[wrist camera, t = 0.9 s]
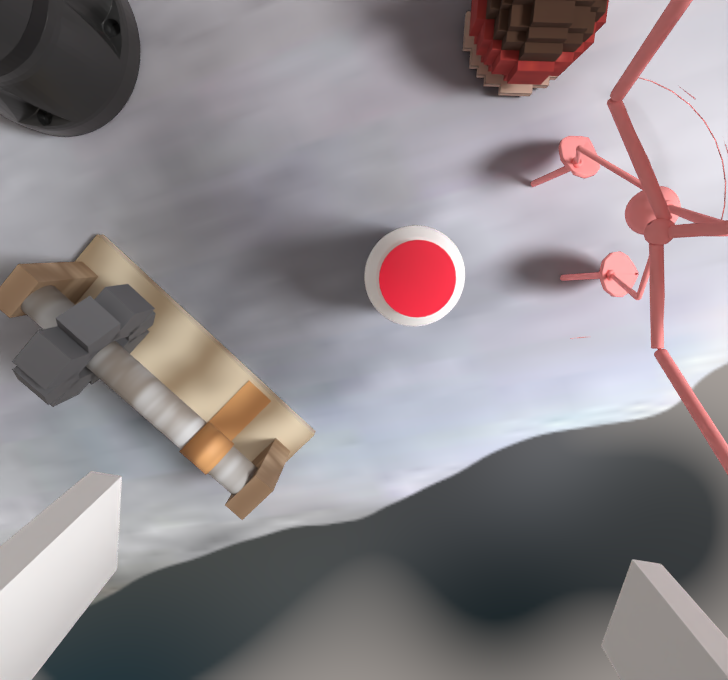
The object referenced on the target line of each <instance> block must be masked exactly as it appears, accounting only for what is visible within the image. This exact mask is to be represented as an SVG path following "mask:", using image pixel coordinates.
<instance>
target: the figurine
mask: <svg viewBox="0 0 728 680" xmlns="http://www.w3.org/2000/svg"><path fill="white" fill-rule="evenodd" d="M691 2H692V0H671V1H670V3H669V4H668V6H667V7H666V9H665V10H664V12H663V13H662V15H661V16H660V18H659V20H658V21H657V23H656V24H655V26H654V27H653V29H652V30H651V32H650V33H649V35H648V36H647V38H646V40H645V41H644V43H643V44H642V46H641V47H640V49H639V50H638V52H637V53H636V55H635V56H634V58H633V60H632V61H631V63H630V64H629V66H628V67H627V69H626V70H625V72H624V73H623V75H622V76H621V78H620V79H619V81H618V83H617V84H616V86H615V87H614V89H613V90H612V92H611V95H610V97H611V99H609V100H608V101H607V105H608V107H609V109H610V112H611V114H612V116H613V119H614V121H615V123H616V126H617V128H618V131H619V133H620V135H621V138H622V140H623V142H624V145H625V147H626V150H627V152H628V154H629V157H630V159H631V161H632V164H633V166H634V168H635V171H636V173H637V175H638V178H639V179H637V178H635V177H634V176H632V175H630V174H629V173H627V172H625V171H623V170H622V169H620V168H618V167H616V166H615V165H613V164H611V163H610V162H608V161H606V160H605V159H603V158H601V157H599V156H598V155H597V153H596V151H595V149H594V147H593V145H592V143H591V141H590V139H589V138H588V137H582V136H568V137H566V138H564V139H562V140H561V142H560V144H559V147H558V148H559V154H560V160H561V161H562V163H563V164H564V167H562V168H559V169H557V170H555V171H553V172H551V173H549V174H546V175H544V176H542V177H540V178H538V179H535V180H533V181H532V182H531V186H532V187H535V186H537V185H539V184H542V183H544V182H546V181H549V180H551V179H553V178H556V177H558V176H560V175H563V174H565V173H567V172H570V171H571V172H572V173H573V175H575V176H578V177H581V178H584V179H585V178H588V177H591V176H594V175H595V174H596V173H597V171H598V170H599V168H600V164H601V165H602V166H604V167H606V168H607V169H609V170H611V171H612V172H614V173H616V174H617V175H619V176H621V177H622V178H624V179H626V180H627V181H629V182H630V183H632V184H634V185H635V186H637V187H639V188H640V189H642V190H643V191H641V192H639V193H637V194H636V195H635V196H634V197H632V199H631V200H630V201H629V202H628V204H627V206H626V210H625V219H626V222H627V224H628V226H629V227H630V228H631V229H632V230H633V231H635V232H636V233H639V234H642V235H644V237H645V240H646V241H647V242H648V243H649V258H648V261H647V264H646V267H645V270H644V273H643V276H642V279H641V282H640V285H639V289H638V292H635V291H634V290H633V289H632V287H633V285H634V283H635V282H636V279H637V277H638V275H639V274H638V271H637V269H636V267H635V266H634V264H633V263H632V261H631V260H630V258H629V257H628V256H627V255H626V254H624V253H622V252H614V253H609V254H608V255H607V256H606V257H605V258H604V259H603V260H602V263H601V267H600V270H599V272H593V273H581V274H568V275H561V277H560V279H561V280H562V281H567V280H584V279H600V281H601V284H602V287H603V289H604V290H605V291H606V292H607V293H608V294H610V295H611V296H613V297H623V296H624V295H626V294H627V293H629V294H630V295H631V296H632V297H633V298H634V299H636V300H640V299H641V298H642V295H643V292H644V289H645V286H646V283H647V281H648V278H649V275H650V320H651V348H658V350H657V351H656V352H655V353H654V356H655V357H656V359H657V361H658V362H659V364H660V365H661V367H662V369H663V370H664V372H665V374H666V375H667V377H668V378H669V380H670V382H671V383H672V385H673V387H674V388H675V390H676V391H677V393H678V395H679V396H680V398H681V400H682V401H683V403H684V404H685V406H686V408H687V409H688V411H689V413H690V414H691V416H692V417H693V419H694V421H695V422H696V424H697V426H698V427H699V429H700V430H701V432H702V434H703V435H704V437H705V439H706V440H707V442H708V443H709V445H710V447H711V448H712V450H713V452H714V453H715V455H716V456H717V458H718V460H719V461H720V463H721V465H722V466H723V468H724V469H725V471H726V473H727V474H728V445H727V443H726V442H725V440H724V439H723V437H722V436H721V434H720V432H719V431H718V430H717V428H716V426H715V425H714V423H713V422H712V420H711V419H710V417H709V416H708V414H707V412H706V411H705V409H704V408H703V406H702V405H701V403H700V402H699V400H698V399H697V397H696V395H695V394H694V392H693V391H692V389H691V387H690V386H689V384H688V383H687V381H686V380H685V378H684V376H683V375H682V373H681V372H680V370H679V369H678V367H677V365H676V364H675V362H674V361H673V359H672V358H671V356H670V355H669V353H668V351H667V350H666V349H661V348H664V331H663V318H664V298H665V293H664V244H667V243H668V242H669V241H671V240H672V239H673V238H680V237H696V236H728V220H726V221H724V220H722V218H721V220H720V219H717V218H714V217H710V216H707V215H704V214H700V213H697V212H694V211H691V210H687V209H684V208H681V205H680V201H679V198H678V196H677V195H676V193H675V192H674V191H673V190H671V189H669V188H667V187H663V186H659V184H658V181H657V179H656V176H655V174H654V172H653V169H652V167H651V164H650V162H649V159H648V157H647V155H646V153H645V151H644V149H643V147H642V145H641V143H640V141H639V139H638V136H637V134H636V132H635V130H634V128H633V125H632V123H631V121H630V118H629V116H628V113H627V111H626V108H625V106H624V103H623V101H622V100H623V98H624V97H625V96H626V94H627V93H628V91H629V90H630V89H631V87H632V86H633V84H634V83H635V81H636V80H637V79H638V78H639V76H640V74H641V73H642V71H643V70H644V69H645V67H646V66H647V64H648V63H649V62H650V60H651V59H652V57H653V56H654V54H655V53H656V52H657V50H658V49H659V47H660V46H661V44H662V43H663V42H664V40H665V39H666V37H667V36H668V35H669V33H670V32H671V30H672V29H673V27H674V26H675V25H676V23H677V22H678V20H679V19H680V17H681V16H682V15H683V13H684V12H685V10H686V9H687V8H688V6H689V5H690V3H691ZM640 79H643V78H640ZM644 80H646V79H644ZM647 81H650V80H647ZM651 82H653V81H651ZM653 83H655V82H653ZM655 84H657V83H655ZM657 85H659V84H657ZM659 86H661V85H659ZM661 87H663V86H661ZM663 88H665V87H663ZM680 88H681V87H680ZM665 89H667V88H665ZM667 90H669V89H667ZM669 91H671V90H669ZM684 91H685V90H684ZM672 92H673V91H672ZM685 92H686V91H685ZM673 93H674V92H673ZM686 93H687V92H686ZM674 94H676V93H674ZM688 94H689V93H688ZM676 95H677V94H676ZM689 95H690V94H689ZM677 96H678V95H677ZM690 96H691V95H690ZM678 97H679V98H681V97H680V96H678ZM691 97H692V96H691ZM693 98H694V97H693ZM681 99H682V98H681ZM694 99H695V98H694ZM682 100H683V101H685V100H684V99H682ZM685 102H686V101H685ZM686 103H687V102H686ZM687 104H689V103H687ZM689 105H690V104H689ZM690 106H691V105H690ZM691 107H692V106H691ZM692 109H693V110H694V111H695V109H694V108H693V107H692ZM695 112H696V111H695ZM696 113H697V112H696ZM697 114H698V113H697ZM698 115H699V114H698ZM699 116H700V115H699ZM700 118H701V119H702V120H703V118H702V117H701V116H700ZM703 121H704V120H703ZM704 122H705V121H704ZM705 124H706V122H705ZM706 126H707V124H706ZM707 128H708V129H709V127H708V126H707ZM709 131H710V129H709ZM710 133H711V131H710ZM711 134H712V133H711ZM712 136H713V134H712ZM713 138H714V136H713ZM714 140H715V142H716V139H715V138H714ZM716 145H717V142H716ZM725 146H726V145H725ZM717 148H718V145H717ZM726 149H727V147H726ZM718 151H719V148H718ZM727 153H728V150H727ZM719 154H720V151H719ZM720 157H721V154H720ZM721 160H722V164H723V159H722V157H721ZM723 172H724V165H723ZM724 179H725V172H724ZM725 197H726V179H725ZM724 208H725V198H724ZM723 213H724V209H723ZM723 213H722V217H723ZM678 217H682V218H684V219H687V220H689V221H692V222H694V223H693V224H682V225H675V222H676V220H677V219H678ZM579 338H584V337H579ZM570 339H571V338H570Z"/></svg>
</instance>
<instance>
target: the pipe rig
mask: <svg viewBox="0 0 728 680" xmlns="http://www.w3.org/2000/svg"><path fill="white" fill-rule="evenodd" d="M123 284H129V285H130V286H131V287H132V288H133V289H134V290H135V291H136V292H138V293H139V294H140V295H141V296H142V297H143V298H144V299H145V300H146V301H147V302H148V303H150V304H151V305H152V306H153V307H154V308H155V309H154V310H153V311H154V312H155V313H156V314H155V319H154V323H153V325H152V326H151V327H150V328H148V329H147V330H148V331H150V332H149V333H148V334H147V335H146V337H145V338H144V339H143V340H142V341H141V342H140V343H139V344H138V345H137V347H136V348H135V349H134V350H133V351H132V352H131V353H128V352H127V351H126V350H125V349H124V348H123V347H122V346H121V345H120V344H118V343H117V342H116V341H113V342H111V343H110V344H108V345H107V346H106V347H104V348H103V349H102V350H100V351H99V352H98V353H97V354H96V355H95V356H94V357H93V358H92V359H91V361H90V362H89V363H88V364H87V365H86V367H87V368H88V369H90V370H91V371H92V372H93V373H94V374H95V375H96V376H98V377H99V378H100V379H101V380H102V381H103V382H104V383H106V384H107V385H108V386H109V387H110V388H111V389H112V390H114V391H115V392H116V393H117V394H118V395H119V396H120V397H122V398H123V399H124V400H125V401H126V402H127V403H128V404H130V405H131V406H132V407H133V408H134V409H135V410H136V411H138V412H139V413H140V414H141V415H142V416H143V417H144V418H146V419H147V420H148V421H149V422H150V423H151V424H152V425H154V426H155V427H156V428H157V429H158V430H159V431H160V432H162V433H163V434H164V435H165V436H166V437H167V438H168V439H170V440H171V441H172V442H173V443H174V444H175V445H176V446H178V447H179V448H180V449H181V450H180V451H179V452H180V453H182V454H183V455H184V456H185V457H186V458H187V459H188V460H190V461H191V462H192V463H193V464H194V465H195V466H196V467H198V468H199V469H200V470H201V471H202V472H203V473H204V474H207V473H208V474H209V475H211V476H212V477H213V478H214V479H215V480H216V481H217V482H219V483H220V484H221V485H222V486H223V487H224V488H225V489H227V490H228V491H229V492H230V493H231V496H230V498H229V499H228V501H227V503H226V504H225V506H227V507H228V508H229V509H230V510H231V511H232V512H234V513H235V514H236V515H237V516H238V517H239V518H240V519H242V520H243V519H244V518H245V517H246V516H247V515H248V514H249V513H250V512H251V511H252V510H253V509H254V508H256V507H257V506H258V505H259V504H260V503H261V502H262V501H263V500H264V499H265V498H266V497H267V496H268V495H269V494H270V493H271V492H272V491H273V490H274V488H275V485H276V483H277V481H278V479H279V476H280V474H281V472H282V469H283V467H284V465H285V463H286V462H287V461H288V460H289V459H290V458H291V457H292V456H293V455H294V454H295V453H296V452H297V451H298V450H299V449H300V448H301V447H302V446H303V445H304V444H305V443H306V442H308V441H309V440H310V439H311V438H312V437H313V436H314V434H315V430H314V429H313V428H311V427H310V426H309V425H308V424H307V423H306V422H305V421H304V420H303V419H302V418H301V417H300V416H298V415H297V414H296V413H295V412H294V411H293V410H292V409H291V408H290V407H289V406H288V405H287V404H286V403H284V402H283V401H282V400H281V399H280V398H279V397H278V396H277V395H276V394H275V393H274V392H273V391H272V390H270V389H269V388H268V387H267V386H266V385H265V384H264V383H263V382H262V381H261V380H260V379H259V378H258V377H256V376H255V375H254V374H253V373H252V372H251V371H250V370H249V369H248V368H247V367H246V366H245V365H243V364H242V363H241V362H240V361H239V360H238V359H237V358H236V357H235V356H234V355H233V354H232V353H231V352H229V351H228V350H227V349H226V348H225V347H224V346H223V345H222V344H221V343H220V342H219V341H218V340H217V339H215V338H214V337H213V336H212V335H211V334H210V333H209V332H208V331H207V330H206V329H205V328H204V327H203V326H201V325H200V324H199V323H198V322H197V321H196V320H195V319H194V318H193V317H192V316H191V315H190V314H189V313H187V312H186V311H185V310H184V309H183V308H182V307H181V306H180V305H179V304H178V303H177V302H176V301H174V300H173V299H172V298H171V297H170V296H169V295H168V294H167V293H166V292H165V291H164V290H163V289H162V288H160V287H159V286H158V285H157V284H156V283H155V282H154V281H153V280H152V279H151V278H150V277H149V276H148V275H146V274H145V273H144V272H143V271H142V270H141V269H140V268H139V267H138V266H137V265H136V264H135V263H134V262H132V261H131V260H130V259H129V258H128V257H127V256H126V255H125V254H124V253H123V252H122V251H121V250H119V249H118V248H117V247H116V246H115V245H114V244H113V243H112V242H111V241H110V240H109V239H108V238H107V237H105V236H104V235H96V236H95V238H94V239H93V240H92V241H91V243H90V244H89V245H88V246H87V247H86V249H85V250H84V251H83V252H82V253H81V255H80V256H79V257H78V258H77V259H76V261H75V262H57V263H32V264H18V265H17V266H16V268H15V269H14V270H13V271H12V273H11V274H10V275H9V276H8V278H7V279H6V280H5V281H4V283H3V284H2V285H1V286H0V310H1V311H2V312H3V313H5V314H6V315H7V316H8V317H9V318H12V317H18V316H23V315H28V316H29V317H30V318H31V319H32V320H34V321H35V322H36V323H37V324H38V325H39V326H40V327H42V328H43V329H47V328H51V327H56V326H57V322H56V317H58V316H59V315H61V314H62V313H64V312H65V311H67V310H68V309H70V308H71V307H73V306H75V305H76V304H78V303H79V302H81V301H82V300H84V299H85V298H87V297H88V296H91V297H92V298H93V299H95V298H96V297H97V296H98V295H99V294H100V292H101V291H102V290H103V289H104V288H105V287H108V286H115V285H123Z"/></svg>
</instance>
